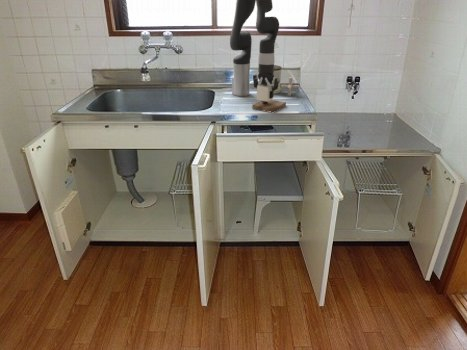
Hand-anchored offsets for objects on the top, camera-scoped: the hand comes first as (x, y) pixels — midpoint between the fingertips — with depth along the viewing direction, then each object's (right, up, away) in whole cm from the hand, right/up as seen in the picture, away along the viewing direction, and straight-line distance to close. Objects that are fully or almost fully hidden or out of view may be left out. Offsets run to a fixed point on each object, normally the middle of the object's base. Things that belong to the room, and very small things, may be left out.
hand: (265, 97), depth 173 cm
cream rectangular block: (0, -1, 0) cm, 1 cm away
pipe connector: (+16, +6, +22) cm, 28 cm away
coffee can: (+6, +10, +30) cm, 32 cm away
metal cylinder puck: (0, -3, +2) cm, 3 cm away
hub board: (+2, -5, +2) cm, 6 cm away
